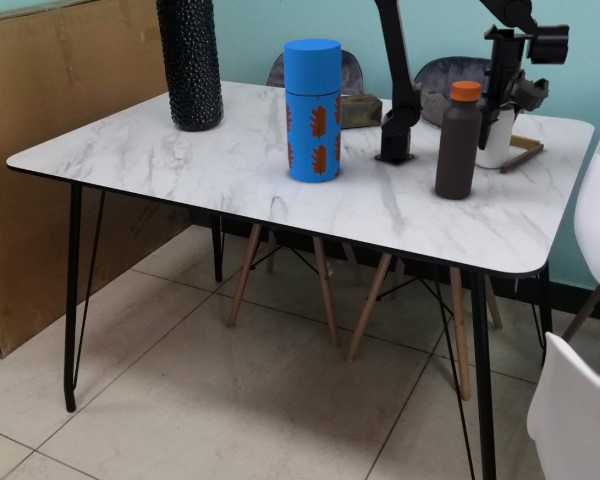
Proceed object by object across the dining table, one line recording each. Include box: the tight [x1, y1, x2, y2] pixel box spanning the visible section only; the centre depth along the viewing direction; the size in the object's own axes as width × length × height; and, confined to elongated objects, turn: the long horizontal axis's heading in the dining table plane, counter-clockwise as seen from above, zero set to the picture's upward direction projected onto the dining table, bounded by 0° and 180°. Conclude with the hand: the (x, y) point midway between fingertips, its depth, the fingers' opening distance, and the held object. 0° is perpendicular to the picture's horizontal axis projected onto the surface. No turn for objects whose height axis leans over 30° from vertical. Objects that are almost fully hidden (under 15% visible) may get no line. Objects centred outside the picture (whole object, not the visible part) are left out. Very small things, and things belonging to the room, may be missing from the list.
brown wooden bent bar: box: [499, 134, 545, 175], centre depth 123 cm, size 17×10×2 cm, turn 135°
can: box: [475, 104, 515, 170], centre depth 117 cm, size 6×6×12 cm
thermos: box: [282, 38, 343, 183], centre depth 113 cm, size 11×11×25 cm
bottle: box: [434, 80, 482, 200], centre depth 104 cm, size 7×7×20 cm
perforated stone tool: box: [420, 87, 451, 128], centre depth 142 cm, size 15×5×7 cm, turn 14°
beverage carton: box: [341, 93, 384, 129], centre depth 143 cm, size 8×19×7 cm, turn 102°
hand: (493, 143), depth 118 cm, fingers open, 9 cm apart
